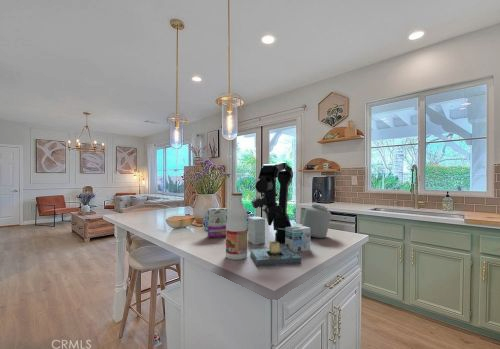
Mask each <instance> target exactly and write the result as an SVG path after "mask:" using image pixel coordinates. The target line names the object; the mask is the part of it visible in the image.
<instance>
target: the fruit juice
mask: <svg viewBox="0 0 500 349" xmlns="http://www.w3.org/2000/svg"><path fill="white" fill-rule="evenodd" d="M230 197H231V202H230V205H229V206H228V207H227V212H226V215H227V223H226V237H225V257H226V258H227V259H228V260H235V261H239V260H244V259H246V258H247V256H248V221H247V217H248V216H247V215H248V210H247V209H246V207H245V206H244V203H243V200H242V199H243V192H238V191H237V192H231V196H230Z"/></svg>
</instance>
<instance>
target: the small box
mask: <svg viewBox="0 0 500 349" xmlns="http://www.w3.org/2000/svg"><path fill="white" fill-rule="evenodd" d="M247 217H248V218H247V219H248V220H247V242H250V243H252V244H253V245H261V244H265V243H266V219H265V218H263V217H261V216H247Z"/></svg>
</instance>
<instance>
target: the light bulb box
mask: <svg viewBox="0 0 500 349" xmlns="http://www.w3.org/2000/svg"><path fill="white" fill-rule="evenodd" d="M310 230H311V228H309V227H306V226H303V225H302V224H301V225H294V226H293V225H291V227H286V228H285V243H284V245H285V246H284V248H285V247H289V248H290V249H291V250H293V251H294V252H295V253H301V252H307V251H310V250H311V236H310Z"/></svg>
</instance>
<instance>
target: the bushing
mask: <svg viewBox="0 0 500 349" xmlns="http://www.w3.org/2000/svg"><path fill="white" fill-rule="evenodd" d="M280 246H281V243H279V242H276V241H275V240H274V241H273V240H272V241H269V243H268V247H269V256H279V255H280V248H281V247H280Z"/></svg>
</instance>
